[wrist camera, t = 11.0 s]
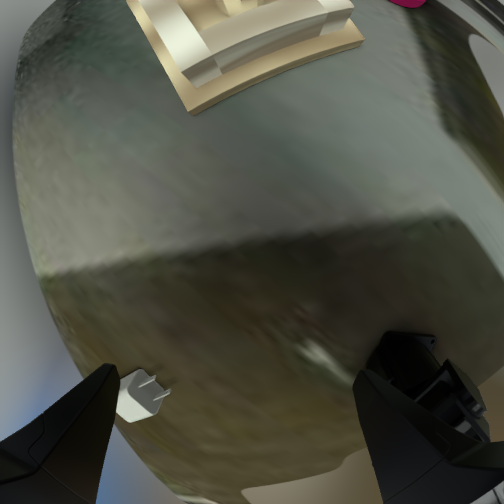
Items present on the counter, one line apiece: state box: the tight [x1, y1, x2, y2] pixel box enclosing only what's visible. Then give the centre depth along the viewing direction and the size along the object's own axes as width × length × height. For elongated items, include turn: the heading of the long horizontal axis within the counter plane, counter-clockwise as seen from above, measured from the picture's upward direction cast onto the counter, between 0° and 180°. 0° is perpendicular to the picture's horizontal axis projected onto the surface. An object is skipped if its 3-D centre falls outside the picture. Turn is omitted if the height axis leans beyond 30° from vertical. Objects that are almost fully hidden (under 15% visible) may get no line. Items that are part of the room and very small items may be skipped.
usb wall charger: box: [116, 369, 172, 422], centre depth 23 cm, size 4×7×4 cm, turn 127°
